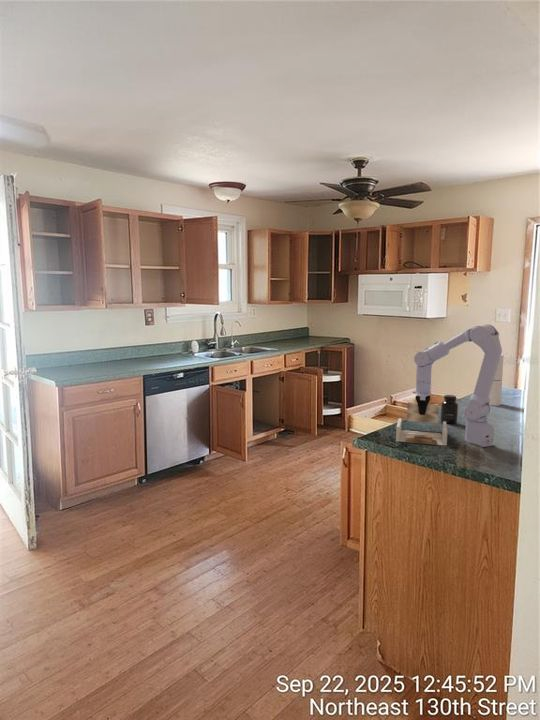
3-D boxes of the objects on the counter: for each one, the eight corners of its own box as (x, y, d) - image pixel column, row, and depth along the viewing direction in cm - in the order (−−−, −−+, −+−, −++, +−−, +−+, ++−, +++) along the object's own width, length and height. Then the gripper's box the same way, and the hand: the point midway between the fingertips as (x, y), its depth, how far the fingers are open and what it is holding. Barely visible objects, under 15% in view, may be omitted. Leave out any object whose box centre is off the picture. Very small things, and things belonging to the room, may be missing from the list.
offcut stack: (436, 441, 179) (436, 435, 178) (436, 444, 176) (437, 438, 175) (406, 439, 182) (406, 433, 182) (405, 441, 179) (405, 435, 179)
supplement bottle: (446, 425, 202) (448, 398, 200) (437, 421, 209) (438, 394, 207) (460, 424, 204) (462, 397, 202) (450, 420, 210) (451, 393, 209)
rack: (445, 436, 188) (446, 421, 187) (446, 447, 174) (447, 431, 174) (398, 432, 193) (398, 418, 192) (395, 442, 180) (396, 427, 179)
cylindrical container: (481, 403, 242) (484, 354, 238) (491, 401, 245) (494, 353, 241) (493, 406, 235) (496, 355, 232) (503, 404, 238) (506, 354, 235)
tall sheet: (437, 422, 193) (438, 404, 192) (437, 423, 192) (438, 405, 191) (407, 419, 197) (407, 402, 196) (406, 420, 196) (407, 402, 195)
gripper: (413, 377, 200) (412, 409, 202) (412, 383, 187) (411, 417, 189) (431, 378, 198) (430, 410, 200) (431, 384, 184) (430, 419, 186)
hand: (422, 413), depth 194 cm, fingers closed on tall sheet, 2 cm apart
